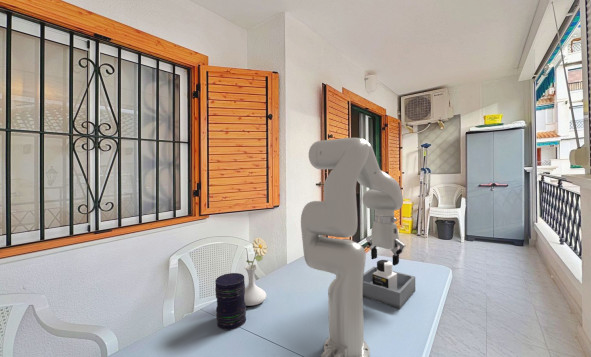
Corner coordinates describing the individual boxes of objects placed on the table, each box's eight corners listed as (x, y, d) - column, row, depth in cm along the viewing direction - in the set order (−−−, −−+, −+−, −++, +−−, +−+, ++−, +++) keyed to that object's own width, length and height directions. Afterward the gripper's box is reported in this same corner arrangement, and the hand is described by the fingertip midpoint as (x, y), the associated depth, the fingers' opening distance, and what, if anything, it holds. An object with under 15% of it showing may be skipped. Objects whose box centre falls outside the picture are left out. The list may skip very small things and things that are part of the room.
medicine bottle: (372, 290, 106) (371, 261, 106) (381, 284, 111) (381, 257, 111) (388, 296, 101) (388, 266, 100) (397, 290, 106) (397, 261, 105)
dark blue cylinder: (211, 329, 85) (209, 284, 84) (223, 312, 94) (222, 272, 94) (240, 331, 83) (238, 285, 83) (250, 314, 93) (248, 273, 92)
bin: (399, 309, 93) (399, 293, 93) (355, 294, 105) (354, 279, 105) (415, 290, 107) (415, 276, 107) (374, 279, 119) (373, 266, 118)
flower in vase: (246, 312, 94) (244, 244, 93) (232, 300, 103) (230, 238, 102) (275, 300, 102) (273, 237, 101) (260, 290, 111) (258, 232, 110)
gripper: (409, 221, 100) (409, 265, 100) (371, 216, 114) (371, 254, 114) (399, 223, 96) (399, 269, 96) (361, 218, 109) (361, 258, 109)
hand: (384, 261), depth 105 cm, fingers open, 9 cm apart
